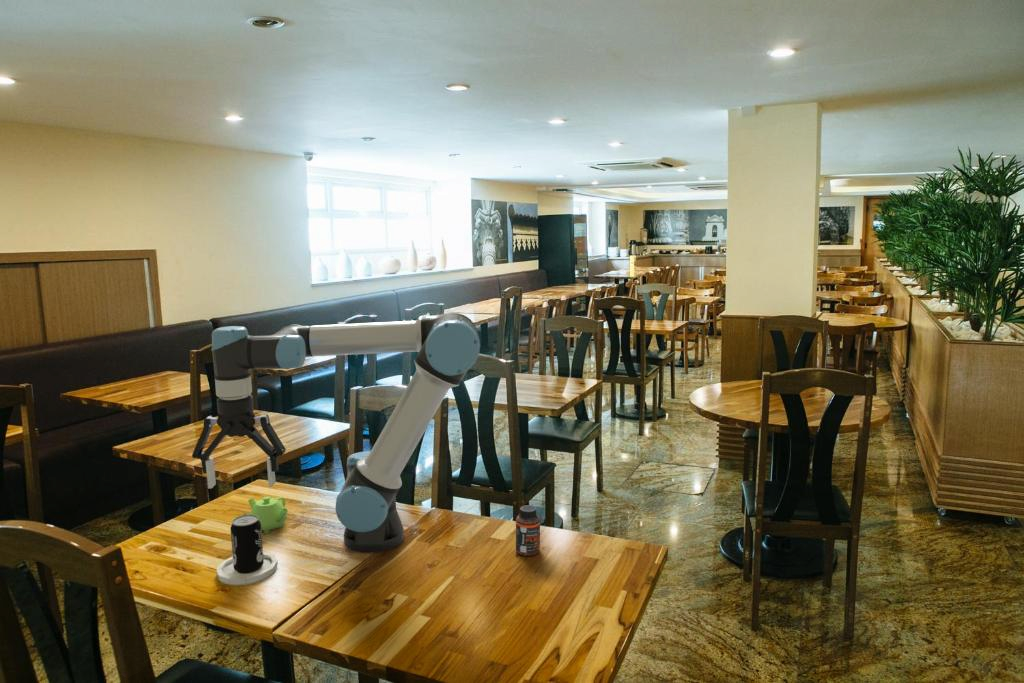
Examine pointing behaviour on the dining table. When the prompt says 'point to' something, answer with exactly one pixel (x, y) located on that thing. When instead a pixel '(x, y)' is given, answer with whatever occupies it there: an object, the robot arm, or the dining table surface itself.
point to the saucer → (234, 578)
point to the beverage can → (247, 544)
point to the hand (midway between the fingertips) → (242, 485)
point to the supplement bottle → (527, 531)
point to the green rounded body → (269, 512)
